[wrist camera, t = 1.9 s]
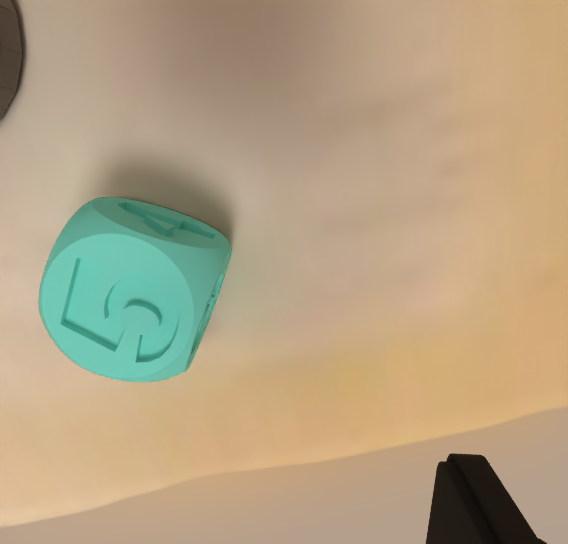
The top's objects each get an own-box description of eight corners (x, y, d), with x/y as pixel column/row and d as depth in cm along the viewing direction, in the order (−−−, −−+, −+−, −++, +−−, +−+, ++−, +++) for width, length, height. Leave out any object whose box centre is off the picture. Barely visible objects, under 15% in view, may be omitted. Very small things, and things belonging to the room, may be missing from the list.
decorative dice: (121, 190, 28) (56, 204, 20) (239, 233, 29) (219, 263, 21) (91, 301, 30) (22, 352, 22) (202, 339, 31) (172, 402, 23)
